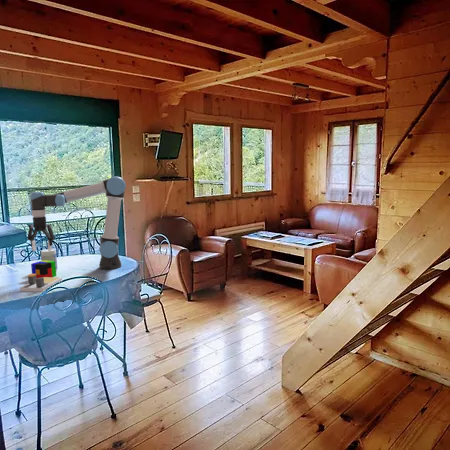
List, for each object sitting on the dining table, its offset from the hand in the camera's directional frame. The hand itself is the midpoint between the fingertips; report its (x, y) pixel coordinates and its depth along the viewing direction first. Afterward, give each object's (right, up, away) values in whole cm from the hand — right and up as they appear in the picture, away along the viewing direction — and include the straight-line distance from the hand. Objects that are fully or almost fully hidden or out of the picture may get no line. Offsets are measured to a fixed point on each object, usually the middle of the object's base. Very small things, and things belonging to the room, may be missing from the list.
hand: (42, 250), depth 247 cm
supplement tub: (-3, -16, +18) cm, 24 cm away
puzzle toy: (0, -18, +3) cm, 18 cm away
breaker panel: (+7, -20, -16) cm, 27 cm away
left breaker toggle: (+10, -19, -24) cm, 32 cm away
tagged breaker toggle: (+3, -18, -18) cm, 26 cm away
